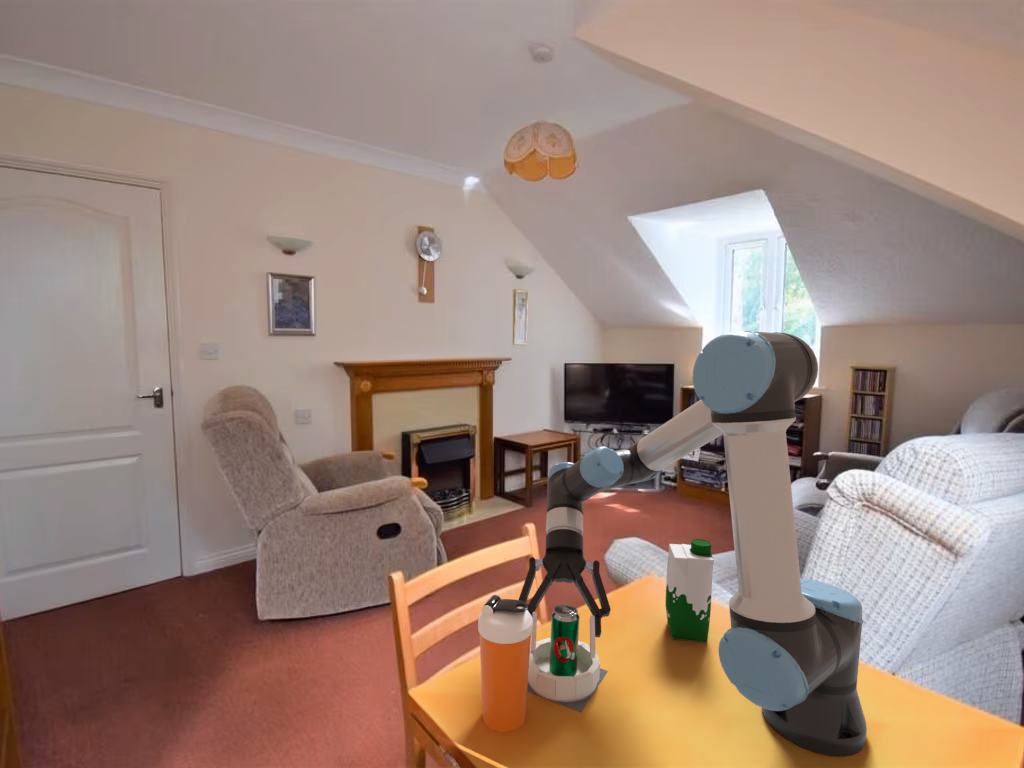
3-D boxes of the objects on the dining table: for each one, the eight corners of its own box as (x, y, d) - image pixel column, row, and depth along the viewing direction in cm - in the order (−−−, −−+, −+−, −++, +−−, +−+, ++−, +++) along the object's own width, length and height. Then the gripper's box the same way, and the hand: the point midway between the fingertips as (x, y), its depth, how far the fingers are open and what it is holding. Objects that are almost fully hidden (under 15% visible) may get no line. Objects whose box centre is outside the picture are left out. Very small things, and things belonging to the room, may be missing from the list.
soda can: (561, 661, 103) (564, 600, 102) (582, 673, 99) (585, 610, 98) (543, 671, 99) (546, 608, 98) (564, 684, 96) (567, 619, 95)
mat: (607, 673, 102) (607, 671, 102) (580, 714, 91) (580, 712, 91) (546, 651, 108) (546, 649, 108) (513, 687, 97) (513, 685, 97)
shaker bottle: (525, 742, 84) (528, 620, 82) (470, 733, 86) (471, 613, 84) (534, 704, 93) (537, 592, 91) (484, 696, 95) (485, 587, 93)
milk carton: (712, 645, 111) (717, 551, 110) (667, 641, 113) (671, 548, 111) (703, 622, 120) (708, 535, 118) (662, 619, 121) (665, 532, 119)
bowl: (608, 670, 102) (609, 650, 101) (581, 712, 90) (581, 690, 90) (545, 649, 108) (546, 630, 108) (512, 685, 97) (513, 664, 97)
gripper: (618, 545, 112) (624, 663, 98) (510, 540, 114) (501, 655, 100) (622, 529, 106) (629, 653, 92) (508, 524, 108) (498, 644, 94)
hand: (562, 654), depth 96 cm, fingers open, 10 cm apart
